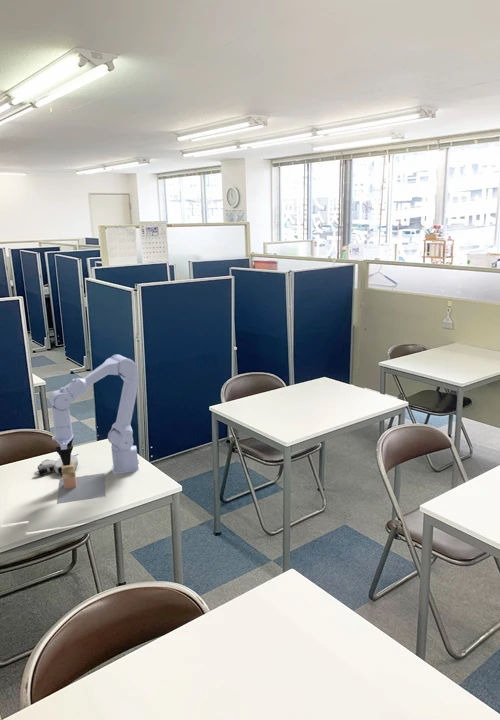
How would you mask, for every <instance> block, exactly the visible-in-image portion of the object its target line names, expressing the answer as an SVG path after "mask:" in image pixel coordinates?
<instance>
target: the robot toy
mask: <svg viewBox="0 0 500 720" xmlns="http://www.w3.org/2000/svg"><path fill="white" fill-rule="evenodd" d="M79 455H80V453H77V454H71V461H70V462H74V467H75V469H76V468H77V467H78V466H79V460H78V457H77V456H79ZM37 470H38V471H35V472H34V475H35V476H38V475H39V476H42V475H45V474H47V473H54V472H55V473H56V474H59V475H60V474H62V460H61V457H59V458H58V459H57V460H54V459H45V460H43V461H41V463H39V465H37ZM62 475H63V474H62Z"/></svg>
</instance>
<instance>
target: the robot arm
mask: <svg viewBox="0 0 500 720" xmlns="http://www.w3.org/2000/svg"><path fill="white" fill-rule="evenodd" d="M108 375H109V376H110V375H111V376H112V375H113V376H119V377H120V378H121V379H122V381H123V383H122V384H123V385H122V389H121V394H120V400H119V404H118V408H117V415H116V419H115V420H116V421H114V423H113V424H112V425H111V429H110V430H109V432H108V433H107V440H108V442H109V443H111V456H112V465H111V467H112V468H111V469H112V475H119V474H124V473H129V472H137V471H138V472H139V471H140V470H139V469H140V467H139V464H140V462H139V459H138V449H137V445H134V438H133V434H134V431H133V428H132V426H131V423H132V419H133V414H134V409H135V408H134V407H135V403H136V398H137V394H138V393H137V392H138V388H139V383H140V376H139V372H138V365H137V364H136V362H135V360H133V359H131V358H127V357H125V356H123V355H121V354H113V355H112V356H111V357H109V358H108V357H107V359H105V361H104V362H102V364H100V365H99V366H97V367H96V368H95V369H93V370H92V371H91V372H89V373H88V374H87V375H85V376H84V377H82V378H81V377H77V378H74V377H73V379H71V381H70V382H69V383H68V384H66V385H65V386H64V387H63V386H62V387H60V388H59V389H58V390H54V391H52V392H51V393H50V395H49V396H48V399H47V401H48V403H49V405H51V410H52V419H53V427H54V435H55V436H52V437H51V438H52V441H55V442H57V444H59V445H60V446H55V452H56V453H57V454H58V455H59V458H61V460H62V463H63V465H64V466H66V465H70V461H71V455H72V451H73V449H74V445H72V444H73V440H74V438H75V435H74V433H73V427H72V417H71V410H70V407H71V405H72V402H74V401H75V400H76V399H78V398H79V397H81V396H83V395H84V394H85V393H87V392H88V391H89V387H90V386H91V385H93V384H95V383H97V382H99V381H100V380H101V379H104V378H105V377H106V376H108Z"/></svg>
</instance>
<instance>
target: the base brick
mask: <svg viewBox="0 0 500 720" xmlns="http://www.w3.org/2000/svg"><path fill="white" fill-rule="evenodd" d="M76 477H77V474H76V473H75V477H71V478H64V479H63V478H62V479H63V481H64V489H67V488H73V487H76Z"/></svg>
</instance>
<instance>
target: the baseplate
mask: <svg viewBox="0 0 500 720" xmlns="http://www.w3.org/2000/svg"><path fill="white" fill-rule="evenodd" d="M57 492H58V493H57V499H56V504H57V505H58V504H65V503H70V502H77V501H82V500H83V501H84V500H89V499H96V498H102V497H107V494H106V493H107V491H106V473H105V472H102V473H96V474H89V475H81V476H76V487H73V488H67V489H64V481H63V478H61V479H59V483H58V491H57Z"/></svg>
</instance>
